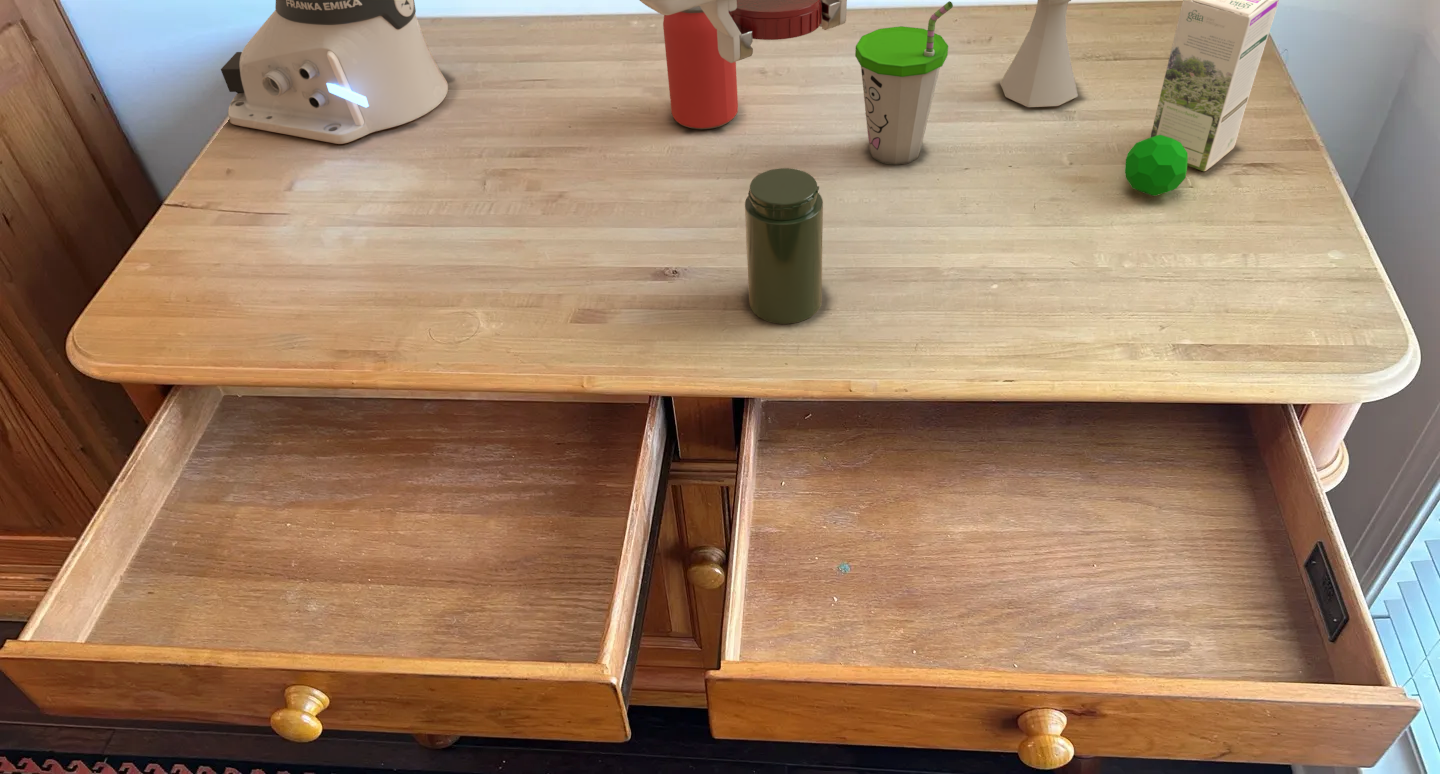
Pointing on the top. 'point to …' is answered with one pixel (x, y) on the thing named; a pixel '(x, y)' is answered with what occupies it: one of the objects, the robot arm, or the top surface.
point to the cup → (900, 86)
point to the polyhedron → (1156, 165)
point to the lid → (778, 17)
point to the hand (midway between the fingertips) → (783, 40)
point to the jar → (784, 245)
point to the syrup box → (1212, 75)
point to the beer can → (698, 72)
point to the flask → (1043, 61)
